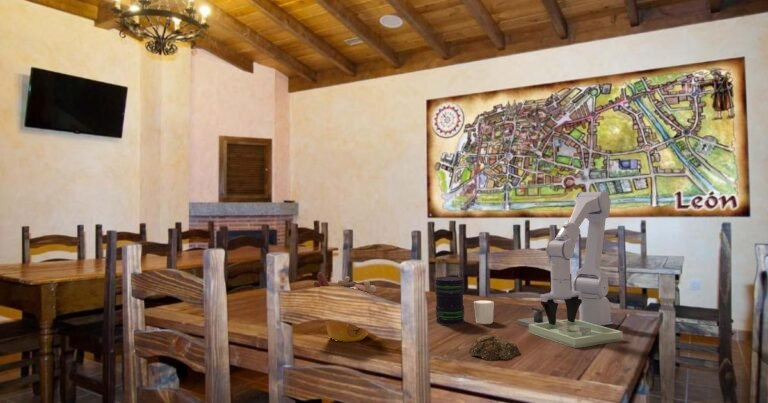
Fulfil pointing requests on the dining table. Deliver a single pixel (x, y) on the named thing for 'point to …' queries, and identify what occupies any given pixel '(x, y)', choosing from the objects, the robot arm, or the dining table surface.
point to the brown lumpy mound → (493, 348)
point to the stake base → (530, 321)
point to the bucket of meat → (340, 329)
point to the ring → (571, 329)
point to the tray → (597, 337)
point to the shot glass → (484, 311)
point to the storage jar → (449, 300)
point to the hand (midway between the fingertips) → (561, 322)
